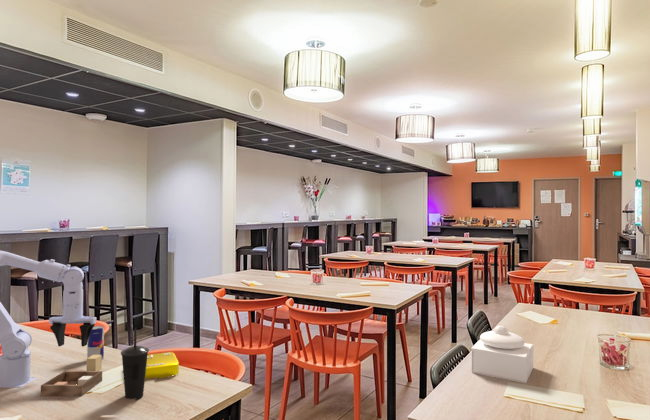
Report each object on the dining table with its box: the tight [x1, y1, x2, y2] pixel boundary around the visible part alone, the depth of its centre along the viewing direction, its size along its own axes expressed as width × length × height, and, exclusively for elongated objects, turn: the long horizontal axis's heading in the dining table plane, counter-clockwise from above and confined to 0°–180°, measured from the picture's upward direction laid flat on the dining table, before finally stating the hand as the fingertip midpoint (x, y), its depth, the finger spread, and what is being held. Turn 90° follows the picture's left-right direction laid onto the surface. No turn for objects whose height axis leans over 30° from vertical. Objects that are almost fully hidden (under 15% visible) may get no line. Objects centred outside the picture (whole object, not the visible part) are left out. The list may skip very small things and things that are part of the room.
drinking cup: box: [120, 328, 150, 401], centre depth 130 cm, size 8×8×20 cm
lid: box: [86, 355, 103, 371], centre depth 149 cm, size 13×13×6 cm
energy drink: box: [86, 325, 105, 360], centre depth 162 cm, size 5×5×12 cm
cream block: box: [78, 376, 93, 385], centre depth 138 cm, size 3×3×2 cm
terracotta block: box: [54, 382, 68, 385], centre depth 133 cm, size 3×3×2 cm
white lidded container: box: [470, 325, 534, 384], centre depth 156 cm, size 18×18×16 cm
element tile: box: [145, 351, 180, 380], centre depth 151 cm, size 15×15×5 cm
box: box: [40, 370, 103, 397], centre depth 135 cm, size 12×12×4 cm
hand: (72, 345), depth 145 cm, fingers open, 7 cm apart
